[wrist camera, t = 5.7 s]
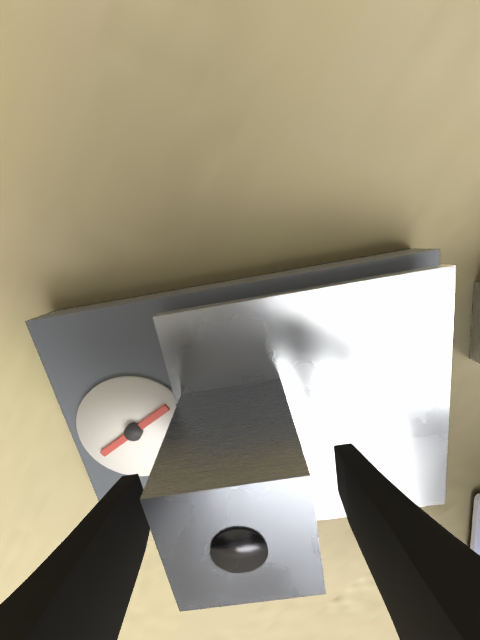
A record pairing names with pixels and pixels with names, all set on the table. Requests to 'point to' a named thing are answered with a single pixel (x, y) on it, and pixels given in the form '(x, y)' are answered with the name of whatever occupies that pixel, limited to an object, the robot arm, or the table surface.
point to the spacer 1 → (234, 500)
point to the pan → (337, 370)
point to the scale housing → (152, 359)
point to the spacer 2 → (475, 325)
